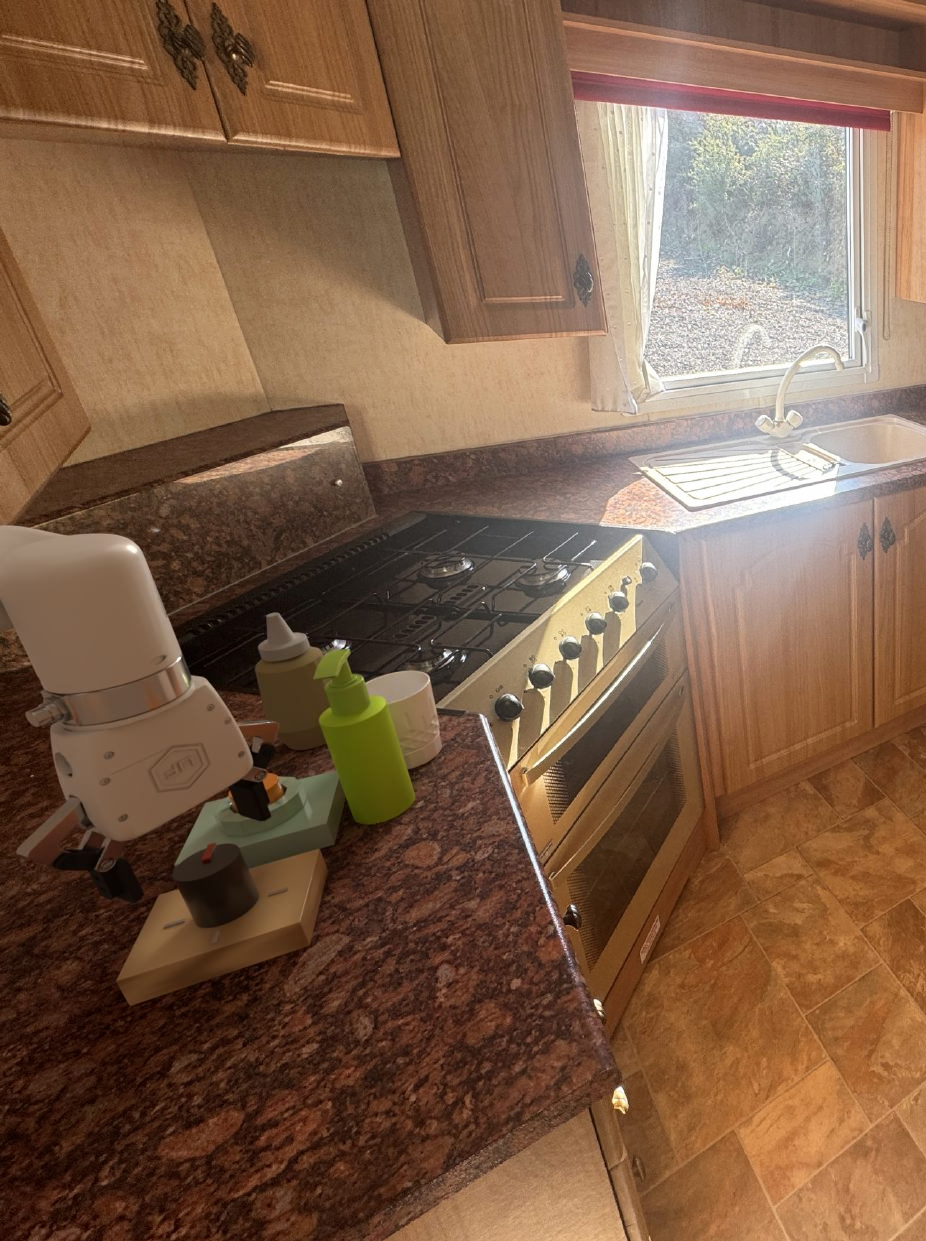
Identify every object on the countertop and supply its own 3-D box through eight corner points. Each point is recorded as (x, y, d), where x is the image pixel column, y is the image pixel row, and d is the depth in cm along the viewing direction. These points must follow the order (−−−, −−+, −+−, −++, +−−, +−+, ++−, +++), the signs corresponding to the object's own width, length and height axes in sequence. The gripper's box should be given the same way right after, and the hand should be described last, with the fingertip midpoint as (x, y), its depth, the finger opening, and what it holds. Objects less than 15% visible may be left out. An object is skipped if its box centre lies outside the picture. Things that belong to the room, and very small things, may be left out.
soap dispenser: (344, 837, 78) (286, 679, 71) (360, 796, 84) (308, 646, 77) (408, 822, 80) (358, 667, 73) (419, 783, 86) (374, 636, 79)
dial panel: (129, 1006, 60) (114, 980, 59) (170, 918, 68) (158, 893, 67) (309, 945, 66) (299, 920, 65) (328, 870, 74) (319, 846, 73)
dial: (254, 914, 65) (232, 865, 63) (188, 936, 63) (163, 886, 61) (263, 881, 69) (243, 834, 67) (202, 900, 67) (179, 852, 64)
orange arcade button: (230, 819, 74) (223, 803, 73) (240, 795, 77) (234, 780, 77) (279, 806, 76) (273, 790, 75) (287, 783, 79) (282, 768, 78)
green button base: (184, 888, 72) (165, 849, 70) (214, 824, 80) (198, 787, 78) (334, 844, 77) (320, 807, 75) (348, 789, 85) (336, 754, 83)
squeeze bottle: (364, 714, 99) (326, 596, 92) (341, 750, 92) (298, 625, 85) (293, 725, 96) (248, 604, 90) (264, 762, 89) (213, 634, 83)
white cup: (431, 772, 88) (411, 703, 84) (360, 778, 87) (336, 708, 83) (458, 733, 95) (440, 668, 92) (393, 738, 94) (372, 672, 90)
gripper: (1, 764, 49) (99, 947, 55) (276, 645, 64) (327, 798, 70) (-70, 742, 50) (33, 922, 57) (214, 631, 66) (269, 782, 72)
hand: (196, 853), depth 64 cm, fingers open, 9 cm apart
